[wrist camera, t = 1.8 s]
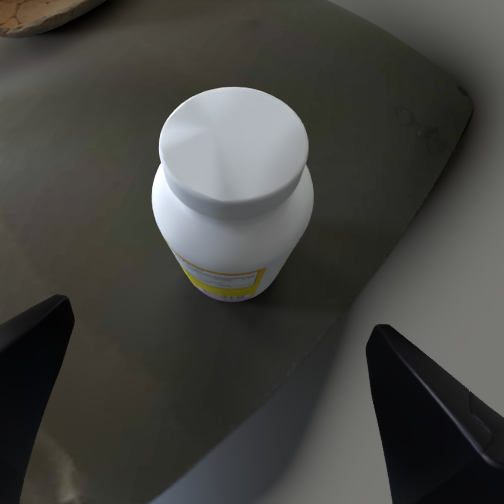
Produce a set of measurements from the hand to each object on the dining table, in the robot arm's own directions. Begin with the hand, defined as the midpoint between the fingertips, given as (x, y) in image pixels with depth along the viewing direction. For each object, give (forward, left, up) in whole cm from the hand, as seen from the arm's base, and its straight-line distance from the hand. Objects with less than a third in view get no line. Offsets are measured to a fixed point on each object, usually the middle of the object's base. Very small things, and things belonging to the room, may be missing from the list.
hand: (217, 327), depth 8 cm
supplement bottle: (+5, -2, -12) cm, 13 cm away
